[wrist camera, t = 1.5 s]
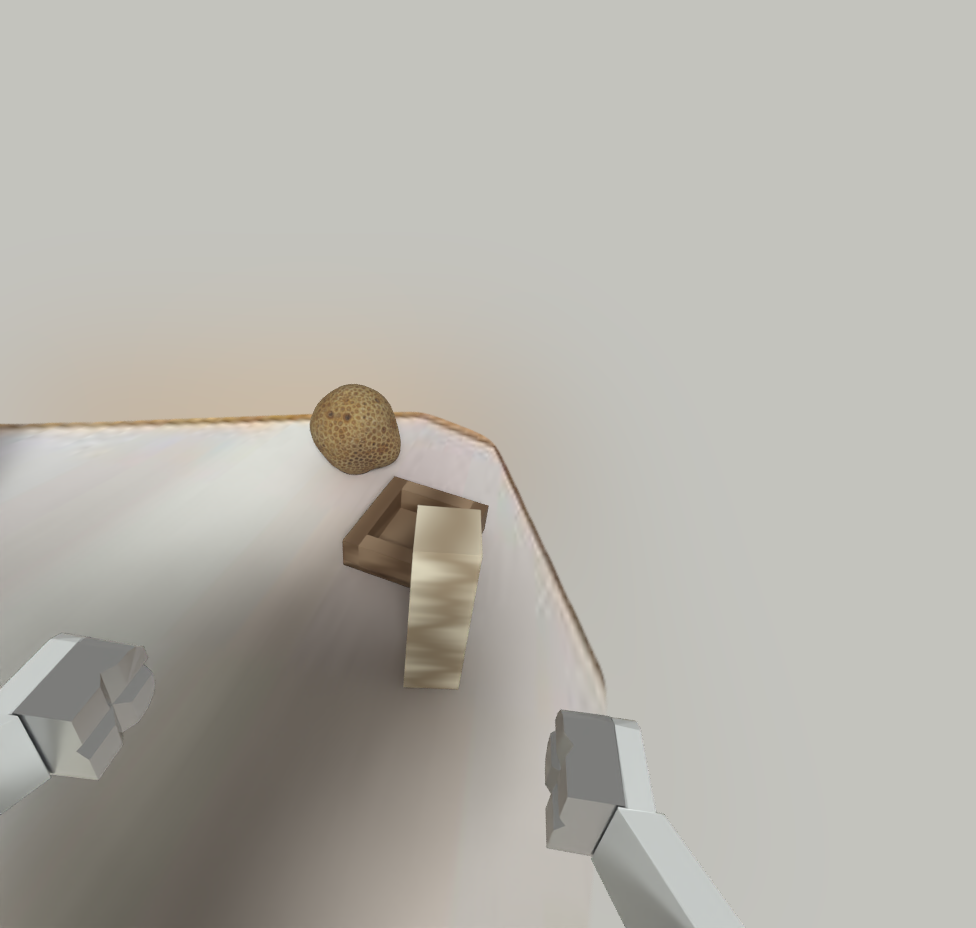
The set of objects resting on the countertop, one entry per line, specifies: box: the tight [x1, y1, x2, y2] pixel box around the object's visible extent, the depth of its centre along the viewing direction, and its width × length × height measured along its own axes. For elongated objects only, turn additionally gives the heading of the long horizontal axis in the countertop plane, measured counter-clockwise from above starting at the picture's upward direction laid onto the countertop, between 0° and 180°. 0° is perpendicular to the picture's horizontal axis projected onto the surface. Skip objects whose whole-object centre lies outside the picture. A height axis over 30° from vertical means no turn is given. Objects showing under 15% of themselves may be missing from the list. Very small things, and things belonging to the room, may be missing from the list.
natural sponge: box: [310, 384, 401, 475], centre depth 55 cm, size 9×9×10 cm
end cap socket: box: [343, 476, 488, 588], centre depth 49 cm, size 10×10×3 cm
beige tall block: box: [403, 505, 483, 689], centre depth 36 cm, size 4×4×14 cm
